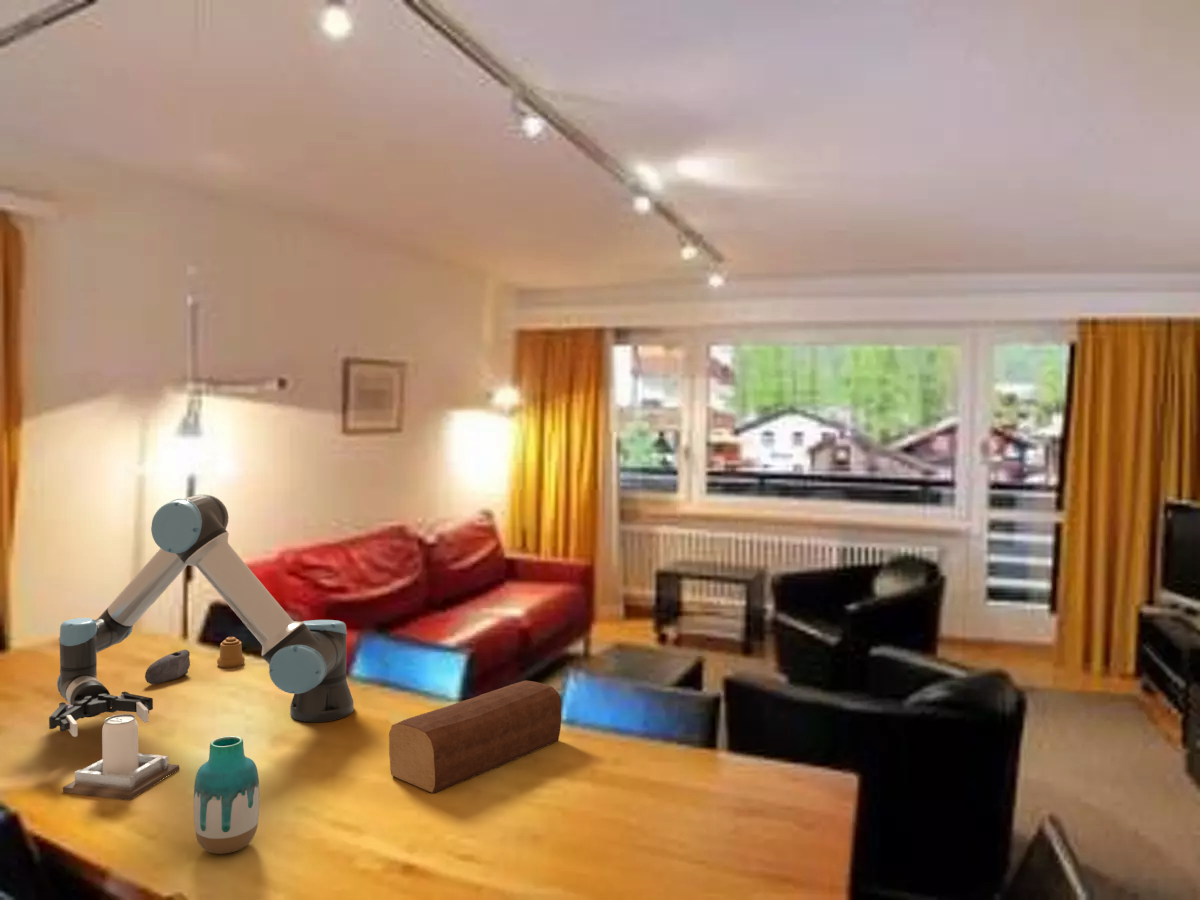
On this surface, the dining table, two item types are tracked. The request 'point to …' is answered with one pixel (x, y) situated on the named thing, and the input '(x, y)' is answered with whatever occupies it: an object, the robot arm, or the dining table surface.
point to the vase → (226, 798)
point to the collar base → (118, 792)
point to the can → (120, 744)
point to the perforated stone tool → (168, 667)
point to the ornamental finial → (230, 653)
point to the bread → (474, 735)
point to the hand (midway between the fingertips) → (111, 723)
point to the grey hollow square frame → (97, 777)
